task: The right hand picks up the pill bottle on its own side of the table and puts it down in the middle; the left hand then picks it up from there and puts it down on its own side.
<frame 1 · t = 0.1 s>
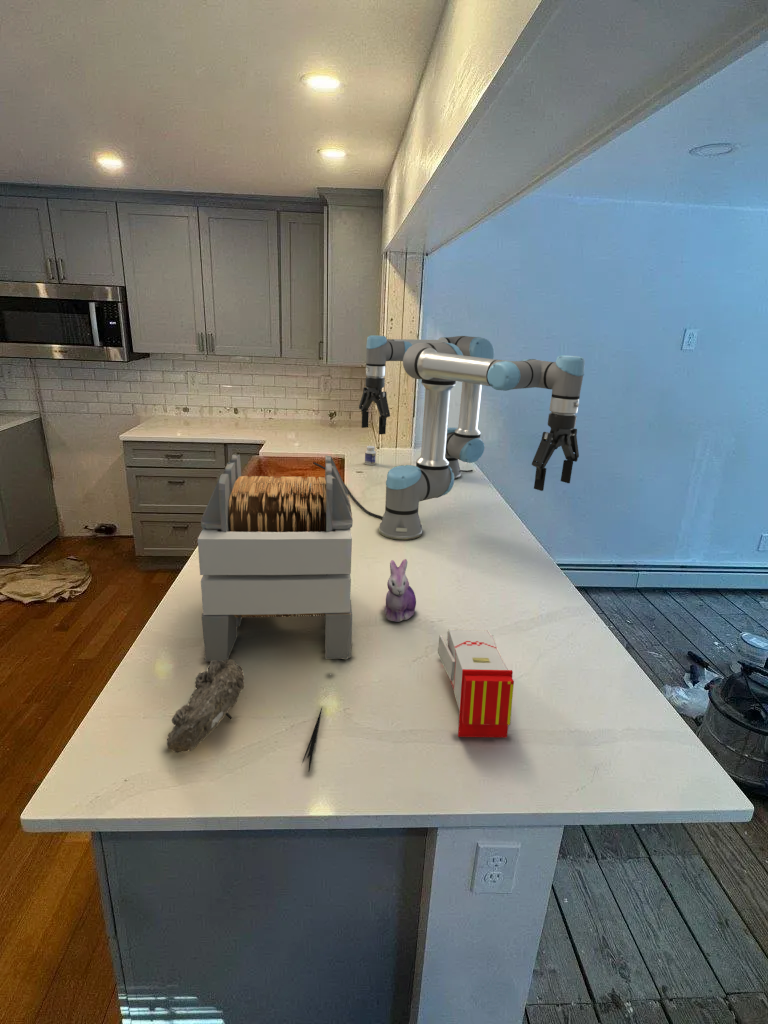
left hand: (552, 485, 166), 28 cm above the counter, tool pointing down, fingers open, 13 cm apart
right hand: (373, 430, 228), 28 cm above the counter, tool pointing down, fingers open, 13 cm apart
record crate: (282, 622, 141), on the counter
pill bottle: (370, 463, 288), on the counter
fossil: (212, 717, 108), on the counter
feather: (319, 719, 109), on the counter
figurine: (399, 614, 147), on the counter
toy: (469, 691, 119), on the counter
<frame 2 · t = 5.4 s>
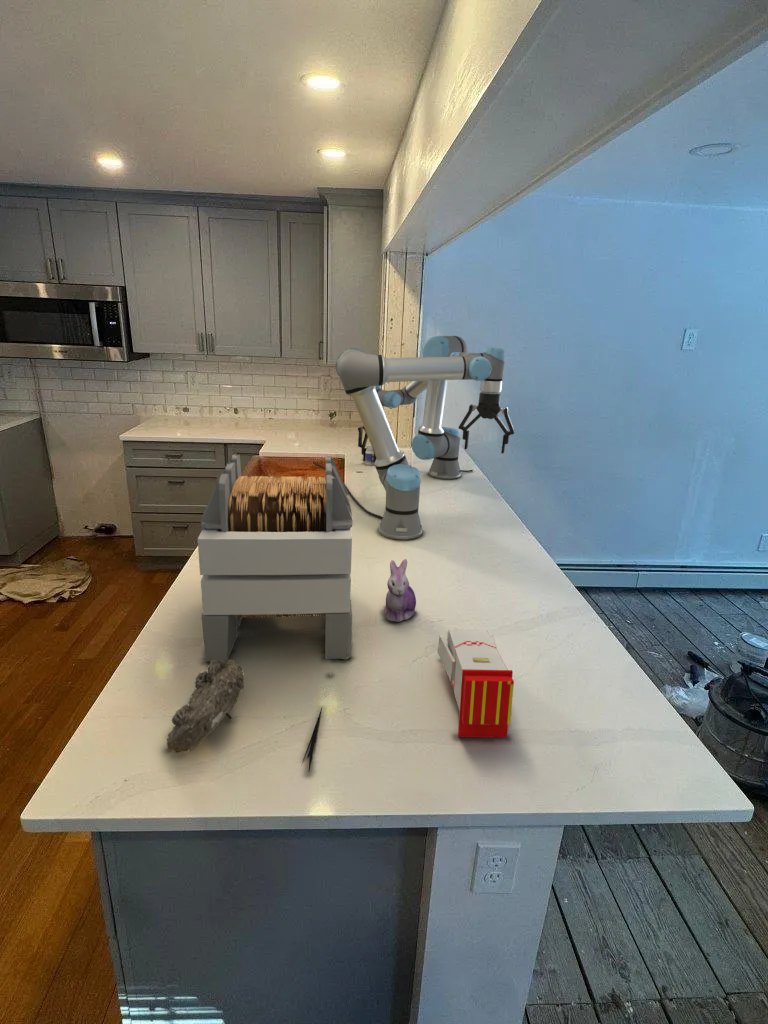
left hand: (484, 450, 210), 27 cm above the counter, tool pointing down, fingers open, 13 cm apart
right hand: (370, 461, 287), 1 cm above the counter, tool pointing down, fingers closed on pill bottle, 5 cm apart
pill bottle: (370, 463, 288), on the counter, touching right hand
everything else where it was.
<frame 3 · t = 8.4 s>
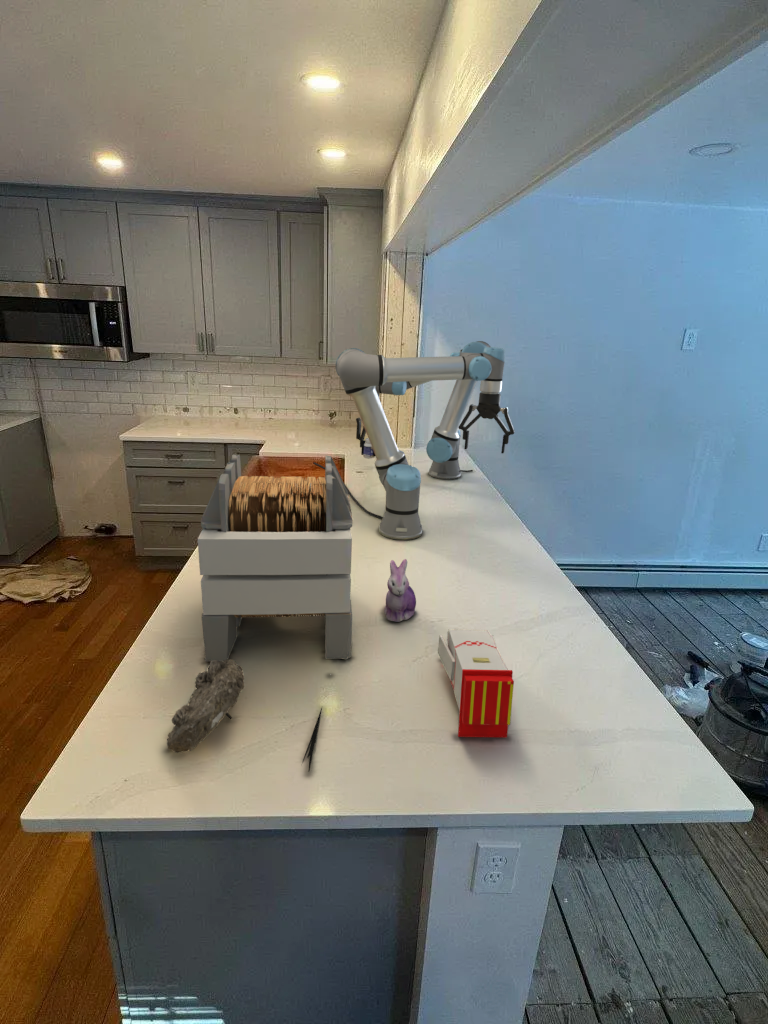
left hand: (484, 450, 210), 27 cm above the counter, tool pointing down, fingers open, 13 cm apart
right hand: (369, 455, 268), 9 cm above the counter, tool pointing down, fingers closed on pill bottle, 5 cm apart
pill bottle: (368, 457, 268), point 8 cm above the counter, touching right hand
everything else where it was.
when the right hand's fingers open (3 cm above the counter, at t = 11.5 s): pill bottle drops 2 cm, on the counter.
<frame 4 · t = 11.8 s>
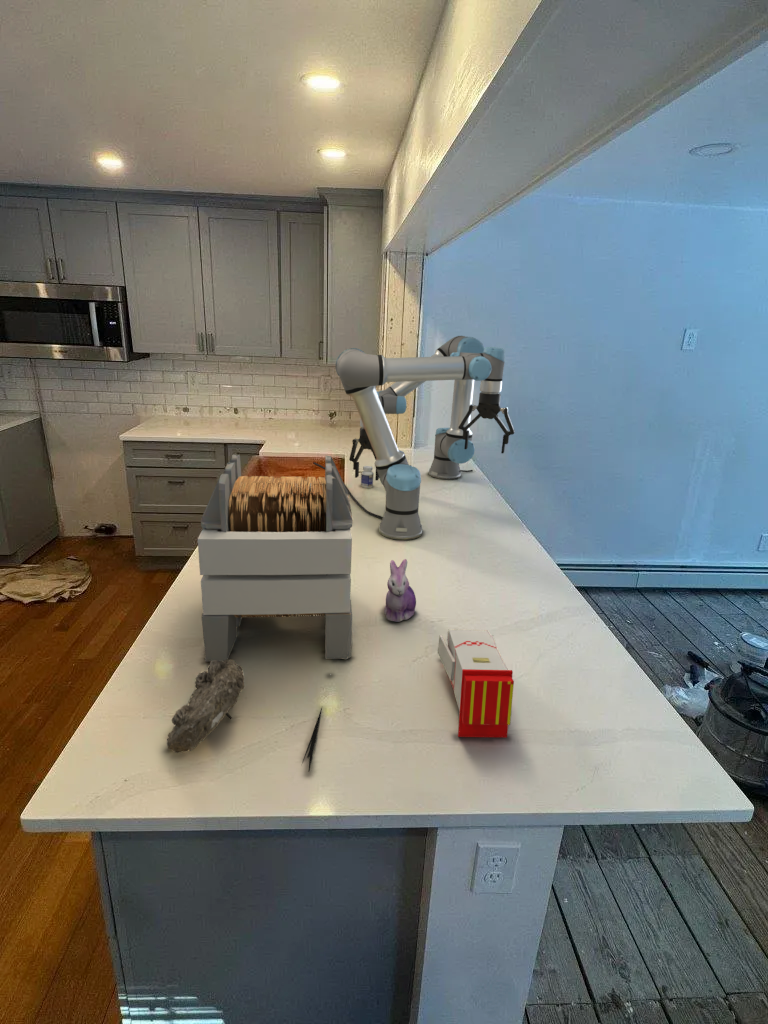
left hand: (484, 450, 210), 27 cm above the counter, tool pointing down, fingers open, 13 cm apart
right hand: (366, 478, 250), 4 cm above the counter, tool pointing down, fingers open, 9 cm apart
pill bottle: (366, 486, 251), on the counter
everything else where it was.
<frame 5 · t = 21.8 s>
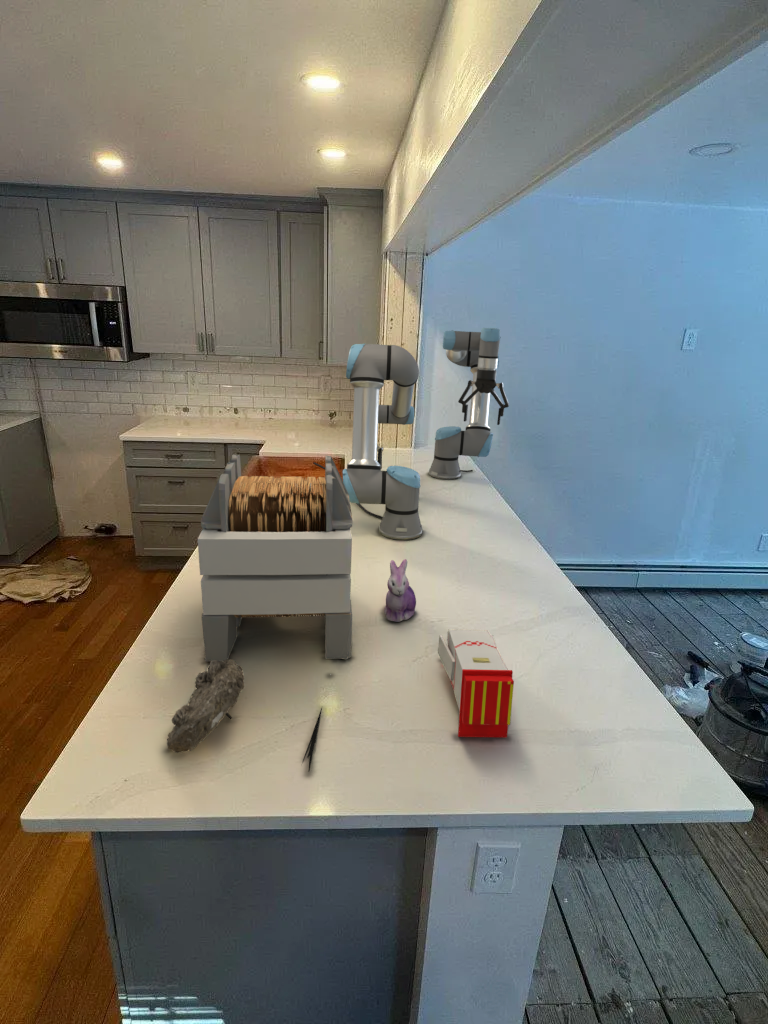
left hand: (366, 483, 251), 1 cm above the counter, tool pointing down, fingers closed on pill bottle, 5 cm apart
right hand: (481, 422, 231), 32 cm above the counter, tool pointing down, fingers open, 13 cm apart
pill bottle: (366, 486, 251), on the counter, touching left hand
everything else where it was.
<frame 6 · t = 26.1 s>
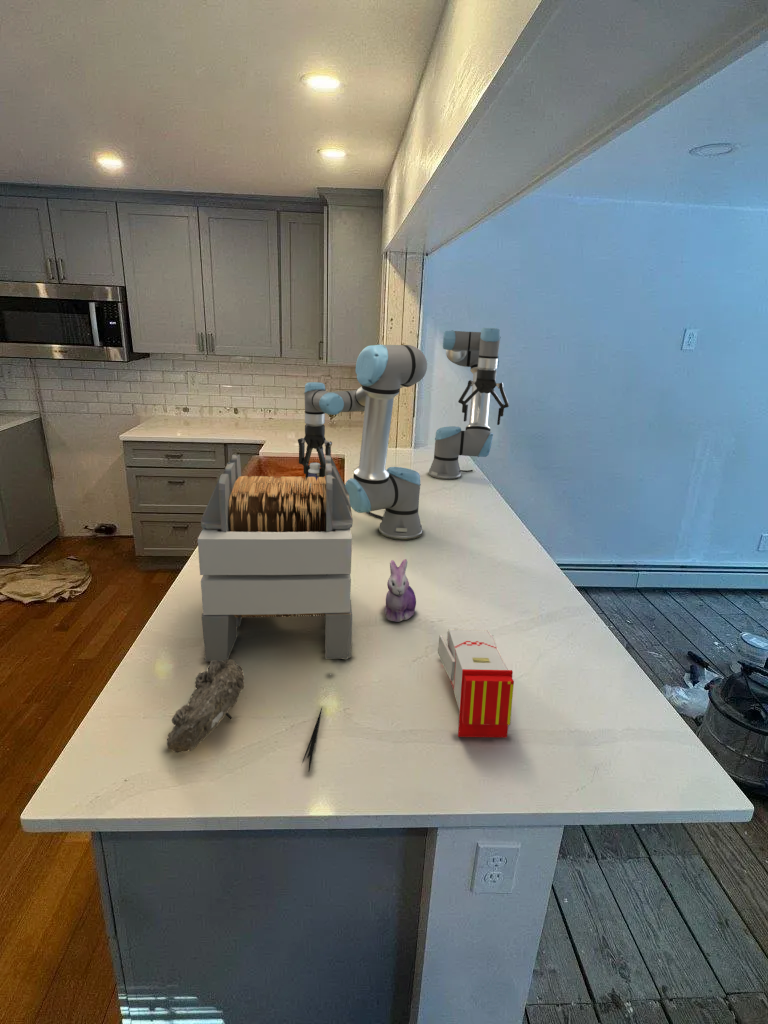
left hand: (314, 482, 222), 9 cm above the counter, tool pointing down, fingers closed on pill bottle, 5 cm apart
right hand: (481, 422, 231), 32 cm above the counter, tool pointing down, fingers open, 13 cm apart
pill bottle: (314, 485, 223), point 8 cm above the counter, touching left hand
everything else where it was.
when the left hand's fingers open (3 cm above the counter, at t = 30.6 s): pill bottle drops 2 cm, on the counter.
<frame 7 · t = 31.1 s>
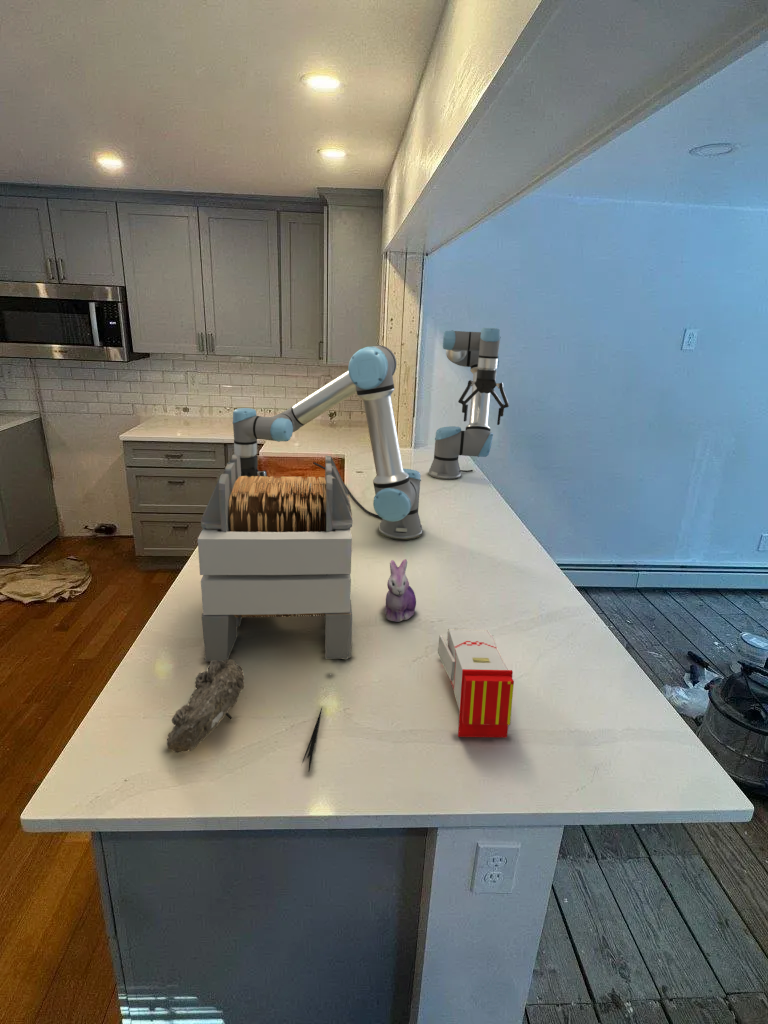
left hand: (248, 514, 198), 5 cm above the counter, tool pointing down, fingers open, 12 cm apart
right hand: (481, 422, 231), 32 cm above the counter, tool pointing down, fingers open, 13 cm apart
pill bottle: (249, 527, 199), on the counter
everything else where it was.
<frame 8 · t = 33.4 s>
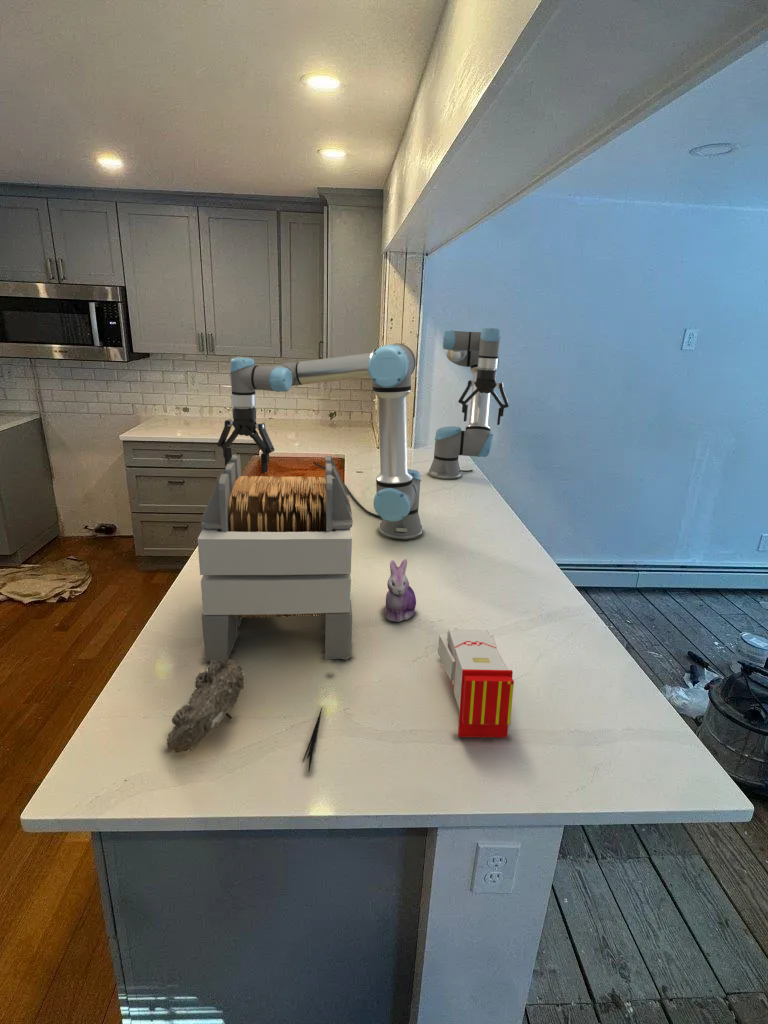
left hand: (246, 469, 192), 21 cm above the counter, tool pointing down, fingers open, 13 cm apart
right hand: (481, 422, 231), 32 cm above the counter, tool pointing down, fingers open, 13 cm apart
nothing on the counter moved.
at the end: pill bottle inside the target area (0.0 cm from its centre), on the counter; pill bottle tilted 1°; the two hands never held the pill bottle at the same time; the left hand is holding nothing; the right hand is holding nothing; pill bottle at rest at the end (0.0 cm/s) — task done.
